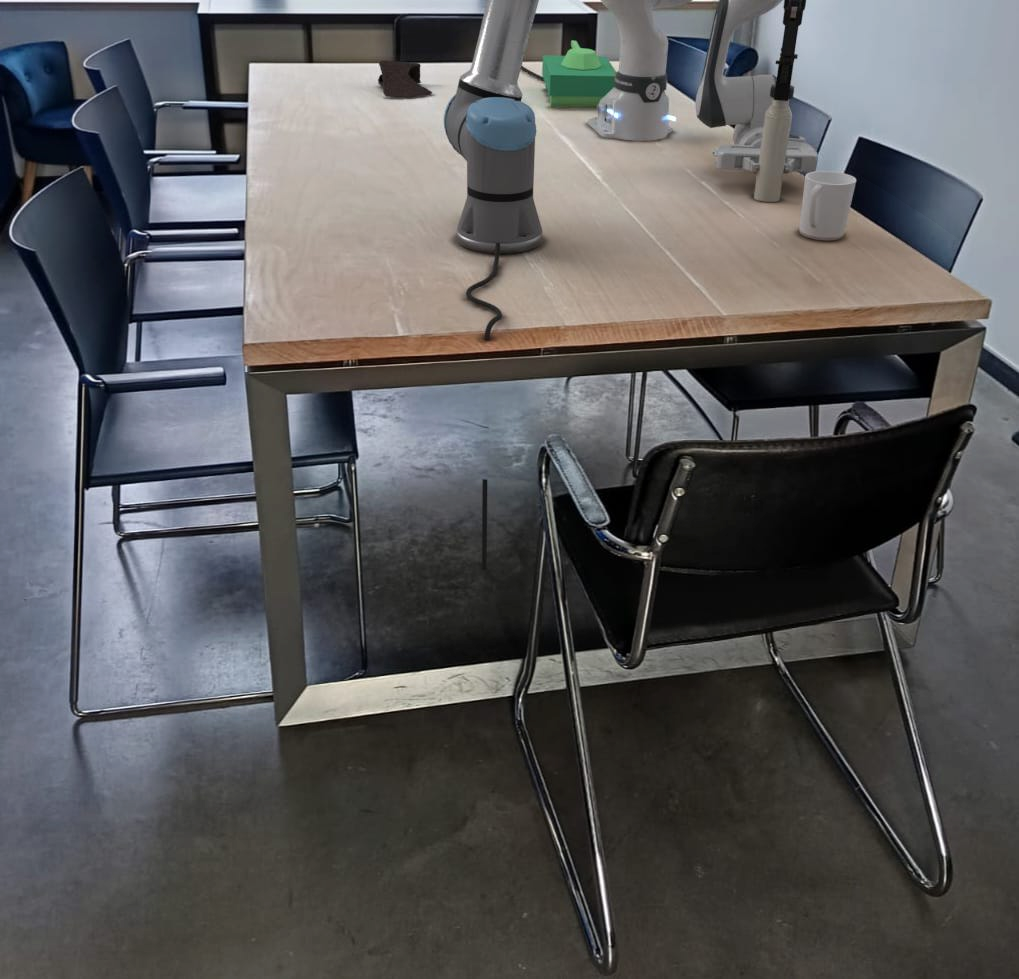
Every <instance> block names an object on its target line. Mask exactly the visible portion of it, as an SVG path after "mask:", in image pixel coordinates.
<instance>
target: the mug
mask: <svg viewBox="0 0 1019 979" xmlns="http://www.w3.org/2000/svg"><path fill="white" fill-rule="evenodd" d="M856 183H857V178H856V177H855V176H853V175H851V174H848V173H844V172H840V171H832V170H815V171H814V172H806V174H805V177H804V184H803V194H802V203H801V212H800V219H799V228H798V232H799V234H800V235H802V236H803V237H805V238H809V239H812V240H817V241H836V240H840V239H842V238H843V237H844V236H845V230H846V227H847V221H848V217H849V215H850V214H849V213H850V209H851V205H852V201H853V196H854V193H855V189H856Z"/></svg>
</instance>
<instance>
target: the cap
mask: <svg viewBox="0 0 1019 979" xmlns="http://www.w3.org/2000/svg"><path fill="white" fill-rule="evenodd" d="M775 87H776V84H774V85H772V86H771V90H770V97H772V98H774V94H775ZM794 94H795V86H794V85H792V84H791V85H790V91H789V98H788V99H789V100H792V99H793V98H794Z"/></svg>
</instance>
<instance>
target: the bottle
mask: <svg viewBox="0 0 1019 979" xmlns="http://www.w3.org/2000/svg"><path fill="white" fill-rule="evenodd" d="M789 102H790V99H788V101H781V100H774V98H773V101H772V104H771V105H770V107H769V108H768V110H767V111H766V113H765V119H764V126H763V133H762V140H761V148H760V155H759V162H758V163H759V168H758V169H759V171H758V173H757V174H756V178H755V184H754V190H753V191H754V192H753V199H755V200H756V201H759V202H763V203H775V202H778V201H780V199H781V195H782V194H781V193H782V187H783V180H784V174H785V173H784V167H785V161H786V154H787V147H788V141H789V135H791V134H790V133H791V127H792V120H793V112H792V110H791V107H790V105H789Z"/></svg>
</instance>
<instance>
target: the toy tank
mask: <svg viewBox="0 0 1019 979" xmlns="http://www.w3.org/2000/svg"><path fill="white" fill-rule="evenodd" d="M570 46H571V48H570V49H569V50H567V52H566V55H549V54H547V55H545V54H543V55H542V65H541V66H542V67H541V76H542V77H543V79H544V81H543V82H544V88H545V91H547V93H548V96H549V107H550V108H597V105H599V102H600V100H601V99H602V98H603V97H604V96H605V95H606V94H607V93H608V92H610V91H611V90H612V89H613V88H614V86H613V85H614V81H615V77H614V76H616V73H614V72H617V71H616V70H615V68H614V67H613V64H612V63H611V62H610V60H609V58H608V57H607V56H603V55H601V56H599V55H598V54H597V51H596V50H593V49H591V48H582V47H581V46H580V44H579V43H578V41H577V40H571V41H570Z"/></svg>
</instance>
